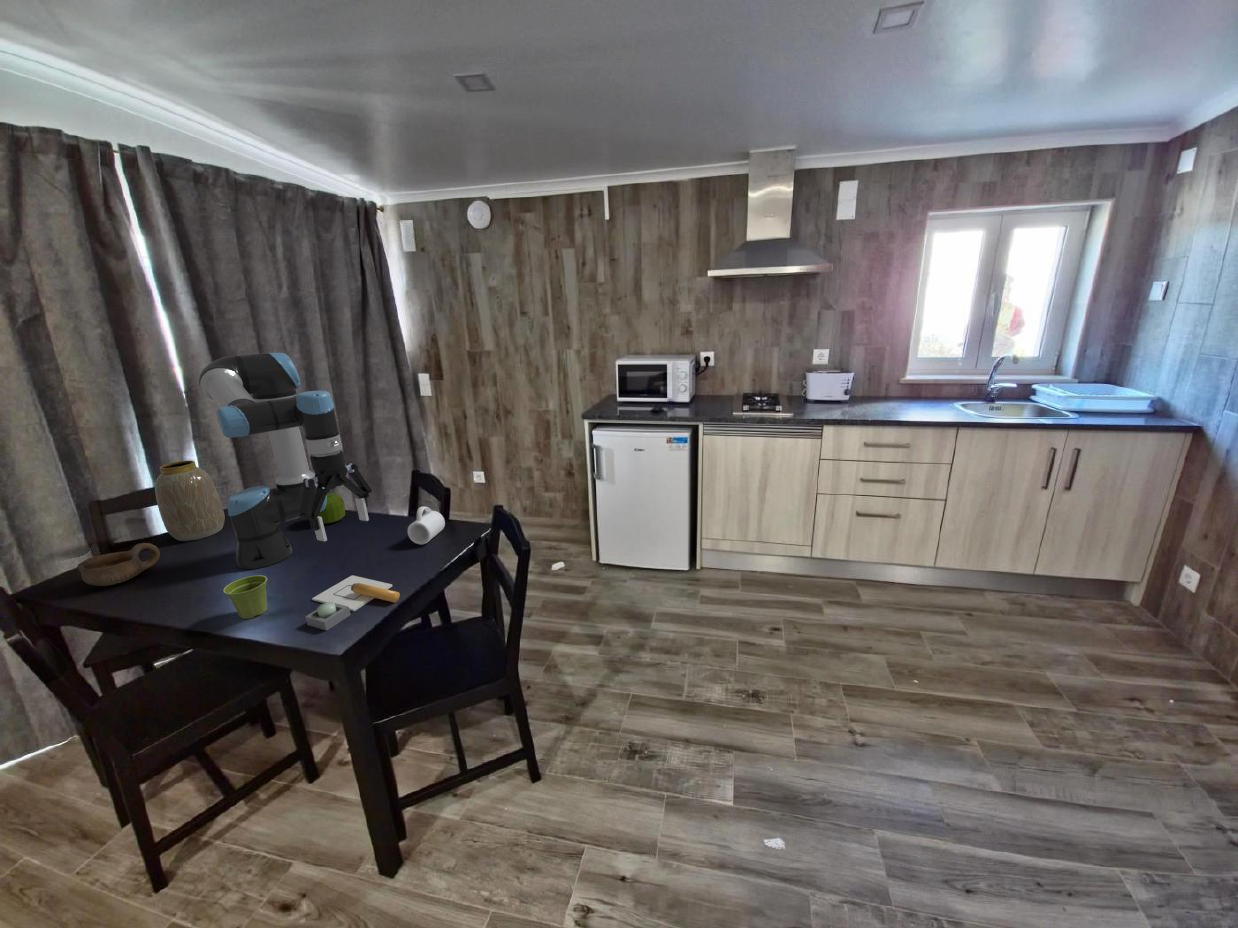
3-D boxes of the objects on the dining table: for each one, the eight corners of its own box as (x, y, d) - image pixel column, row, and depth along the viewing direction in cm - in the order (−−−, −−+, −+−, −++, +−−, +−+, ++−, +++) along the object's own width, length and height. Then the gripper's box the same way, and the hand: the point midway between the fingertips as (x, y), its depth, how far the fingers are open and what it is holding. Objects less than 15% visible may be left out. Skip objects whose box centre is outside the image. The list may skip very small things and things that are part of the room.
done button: (315, 618, 127) (313, 609, 126) (329, 609, 131) (327, 600, 130) (326, 621, 126) (324, 612, 125) (340, 612, 129) (338, 603, 128)
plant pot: (246, 603, 138) (238, 576, 135) (282, 601, 138) (274, 573, 136) (224, 624, 129) (214, 595, 126) (262, 621, 129) (253, 592, 127)
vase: (201, 523, 194) (179, 457, 186) (240, 524, 192) (220, 457, 184) (156, 543, 178) (131, 472, 170) (198, 544, 176) (174, 472, 167)
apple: (307, 526, 187) (301, 499, 184) (328, 514, 197) (322, 489, 194) (334, 527, 185) (327, 500, 182) (353, 515, 195) (347, 489, 192)
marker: (349, 585, 137) (392, 595, 133) (357, 580, 140) (399, 590, 136) (350, 594, 138) (392, 604, 134) (358, 589, 140) (400, 599, 137)
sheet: (312, 600, 138) (312, 598, 138) (352, 576, 149) (351, 575, 149) (354, 611, 132) (353, 609, 132) (392, 586, 143) (392, 584, 143)
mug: (446, 531, 177) (441, 500, 174) (431, 545, 168) (426, 512, 164) (425, 531, 179) (420, 500, 175) (409, 544, 169) (403, 511, 165)
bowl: (140, 556, 165) (136, 530, 162) (171, 571, 162) (168, 546, 159) (70, 584, 149) (64, 556, 145) (104, 601, 146) (99, 573, 143)
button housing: (307, 624, 127) (305, 616, 126) (331, 609, 133) (329, 601, 132) (326, 630, 124) (324, 622, 124) (350, 614, 130) (348, 606, 130)
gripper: (290, 468, 114) (311, 552, 121) (376, 441, 136) (390, 513, 142) (268, 465, 117) (290, 547, 124) (356, 439, 138) (371, 510, 145)
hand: (344, 529), depth 133 cm, fingers open, 12 cm apart
